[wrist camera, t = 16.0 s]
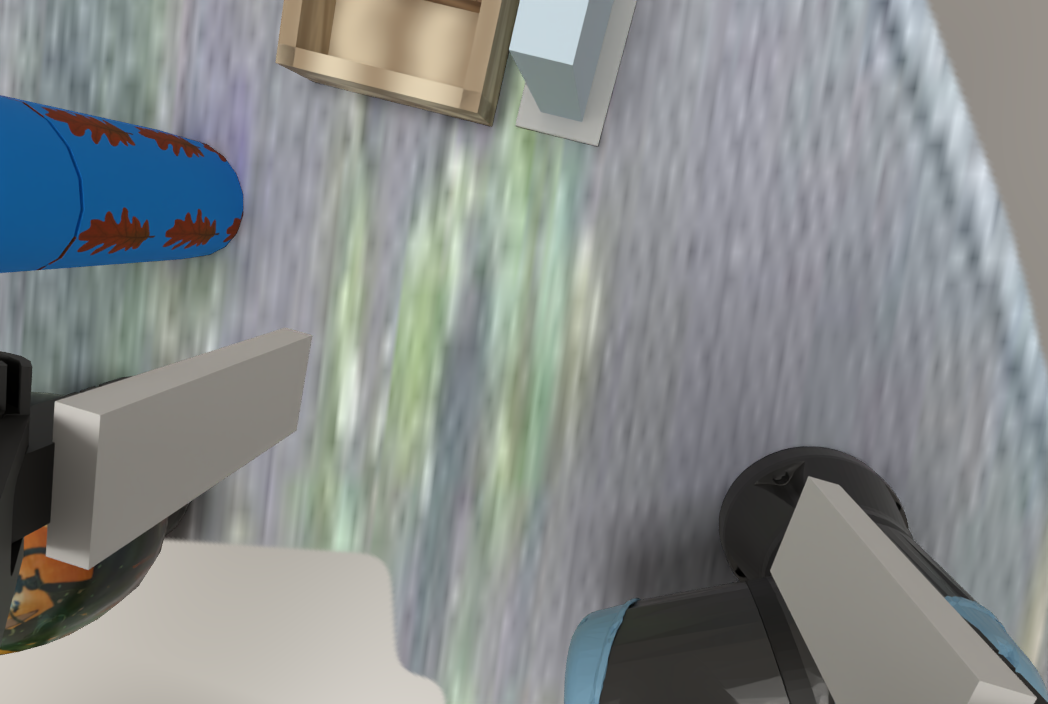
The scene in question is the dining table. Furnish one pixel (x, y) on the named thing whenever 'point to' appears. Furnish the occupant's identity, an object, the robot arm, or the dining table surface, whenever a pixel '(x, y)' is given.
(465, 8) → the offcut
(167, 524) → the amphora vase
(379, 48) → the box
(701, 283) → the dining table surface
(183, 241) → the thermos
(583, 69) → the pale blue block
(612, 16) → the mat
